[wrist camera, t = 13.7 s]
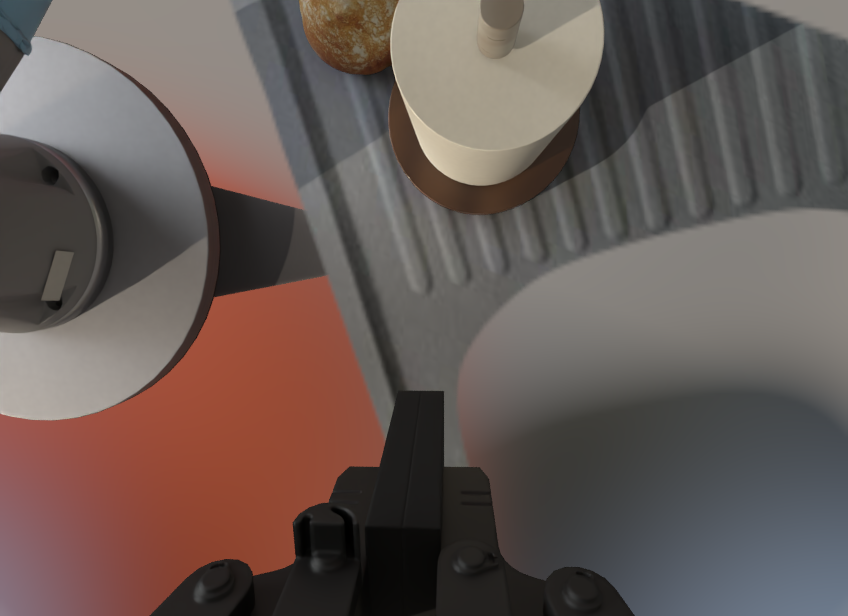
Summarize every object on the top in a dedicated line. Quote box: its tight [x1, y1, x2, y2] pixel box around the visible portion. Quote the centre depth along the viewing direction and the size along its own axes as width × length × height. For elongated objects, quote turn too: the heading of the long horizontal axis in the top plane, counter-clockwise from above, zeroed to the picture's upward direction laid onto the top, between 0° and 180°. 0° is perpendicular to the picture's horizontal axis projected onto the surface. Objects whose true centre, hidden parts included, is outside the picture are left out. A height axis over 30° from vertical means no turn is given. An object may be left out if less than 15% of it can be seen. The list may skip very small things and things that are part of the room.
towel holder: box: [388, 0, 580, 215], centre depth 28 cm, size 14×14×18 cm
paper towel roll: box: [390, 0, 604, 186], centre depth 28 cm, size 18×10×12 cm, turn 139°
